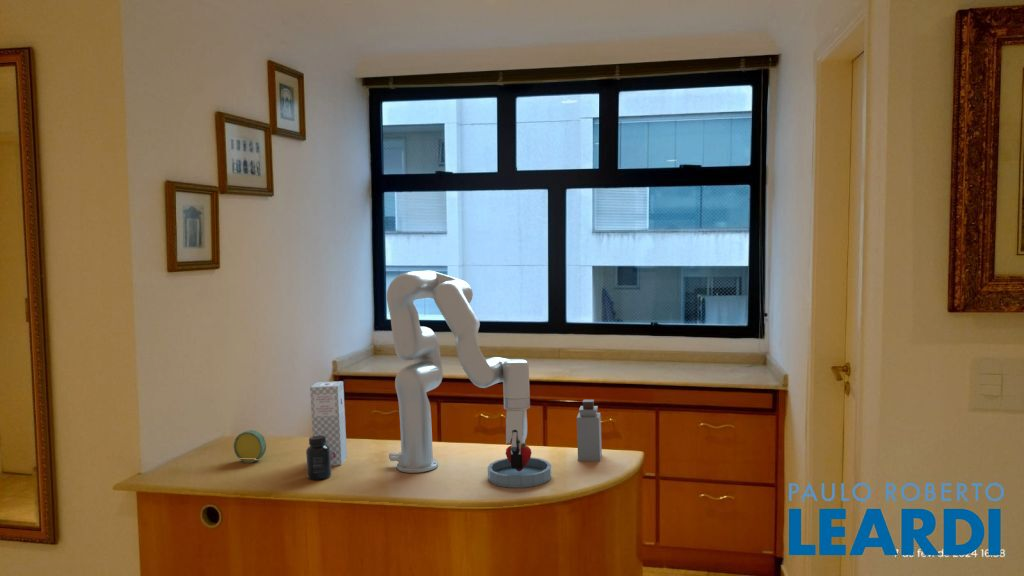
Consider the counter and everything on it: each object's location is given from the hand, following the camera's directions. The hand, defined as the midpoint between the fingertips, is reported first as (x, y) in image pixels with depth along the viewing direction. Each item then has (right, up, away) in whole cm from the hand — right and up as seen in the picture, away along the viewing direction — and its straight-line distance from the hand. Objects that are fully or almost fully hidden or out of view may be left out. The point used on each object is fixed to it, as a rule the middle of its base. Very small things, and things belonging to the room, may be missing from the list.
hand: (518, 464), depth 205 cm
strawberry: (0, -2, 0) cm, 2 cm away
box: (-60, -5, +23) cm, 64 cm away
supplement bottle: (-59, -6, +7) cm, 60 cm away
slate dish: (0, -4, 0) cm, 4 cm away
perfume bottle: (+22, -2, +17) cm, 28 cm away
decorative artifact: (-86, -6, +28) cm, 91 cm away
